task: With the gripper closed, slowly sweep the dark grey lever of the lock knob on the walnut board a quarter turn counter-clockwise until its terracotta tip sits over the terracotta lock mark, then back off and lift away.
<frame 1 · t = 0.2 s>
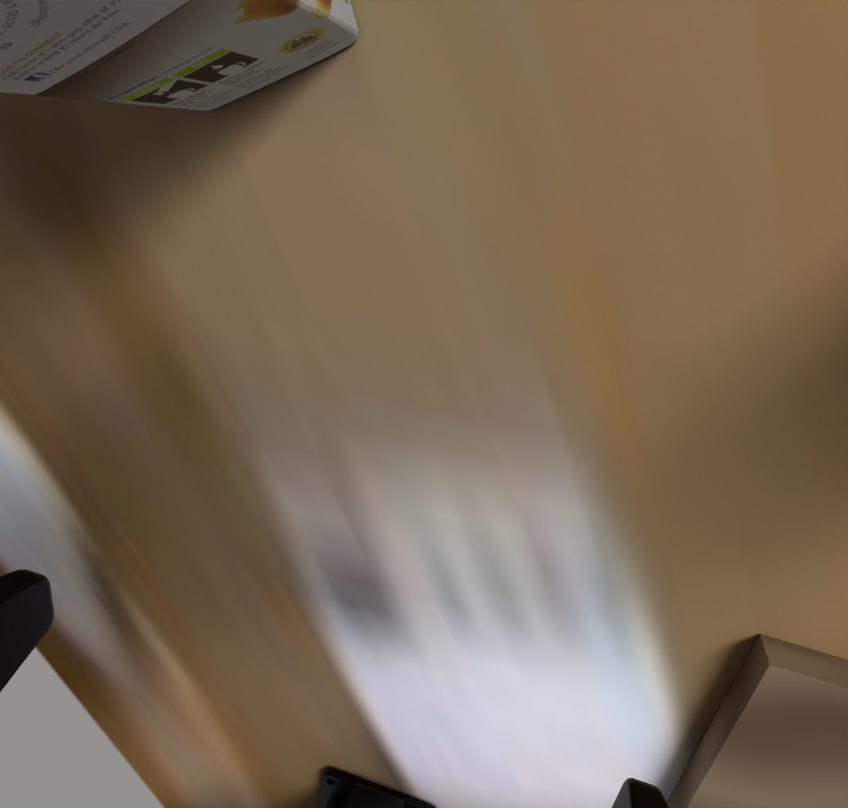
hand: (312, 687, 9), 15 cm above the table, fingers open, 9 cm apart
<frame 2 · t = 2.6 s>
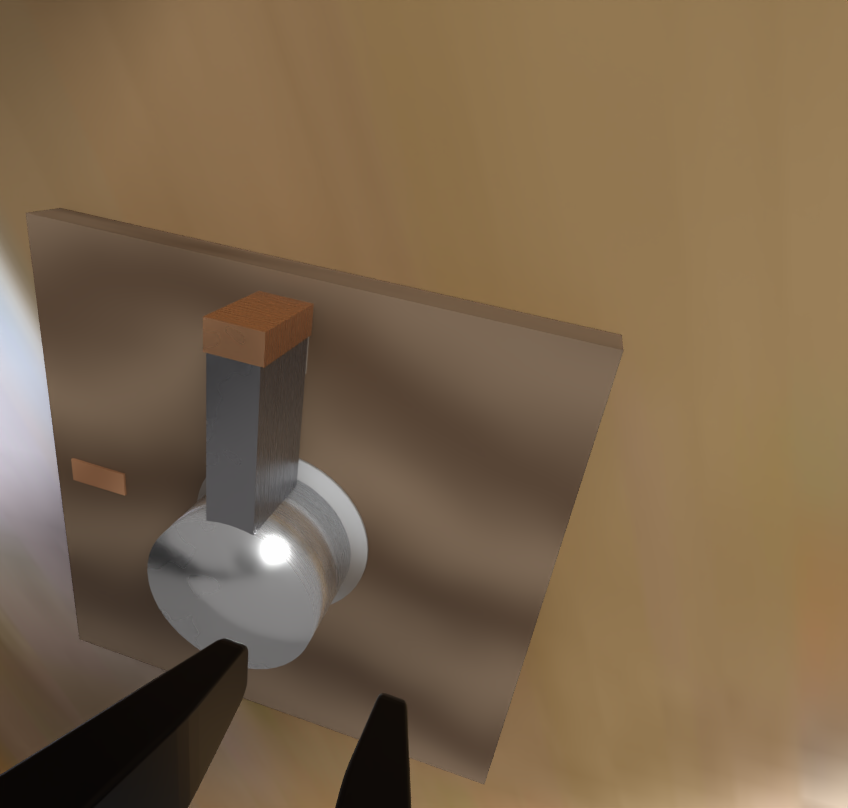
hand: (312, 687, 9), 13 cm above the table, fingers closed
lock knob: (256, 490, 20), point 4 cm above the table, hinge at 0.0°
lock board: (298, 510, 25), on the table
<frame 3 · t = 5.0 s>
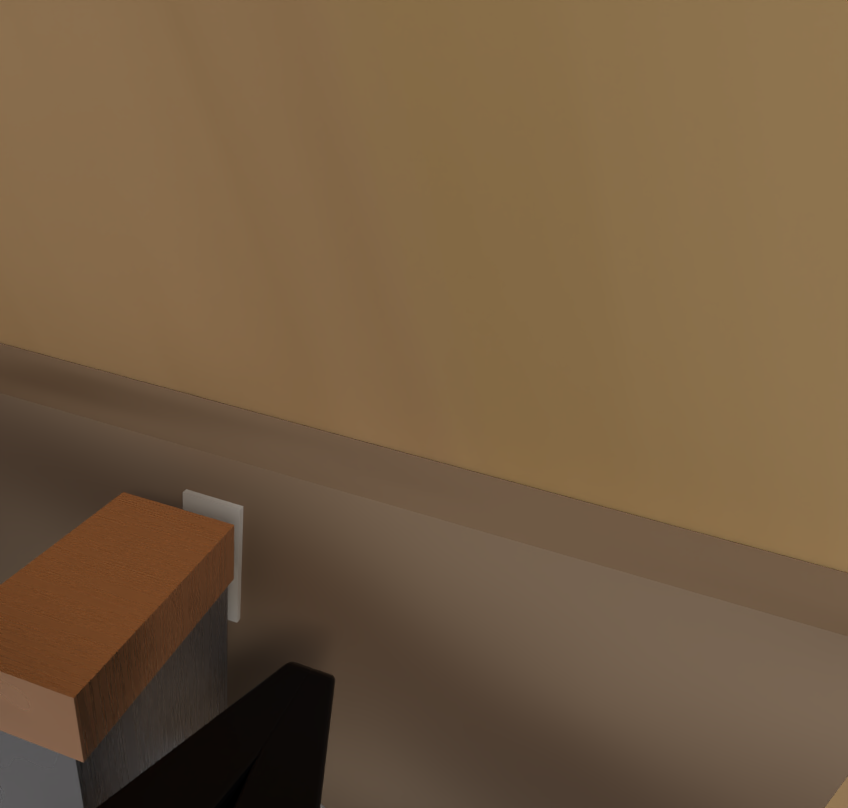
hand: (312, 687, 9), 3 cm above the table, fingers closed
lock board: (247, 772, 15), on the table
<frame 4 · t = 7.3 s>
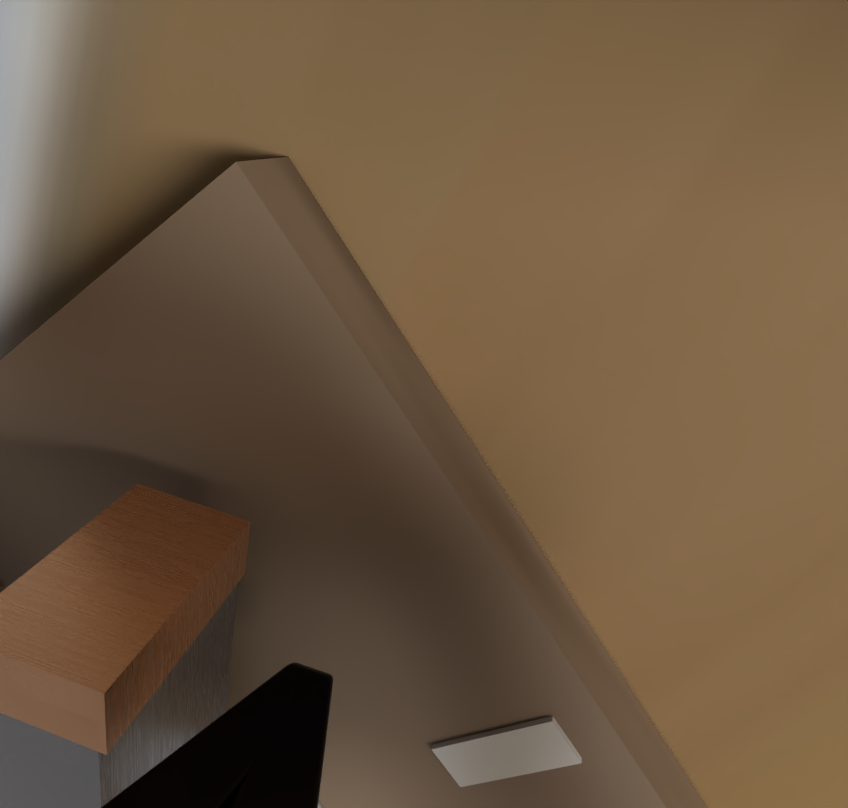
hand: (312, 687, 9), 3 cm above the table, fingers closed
lock board: (231, 757, 15), on the table
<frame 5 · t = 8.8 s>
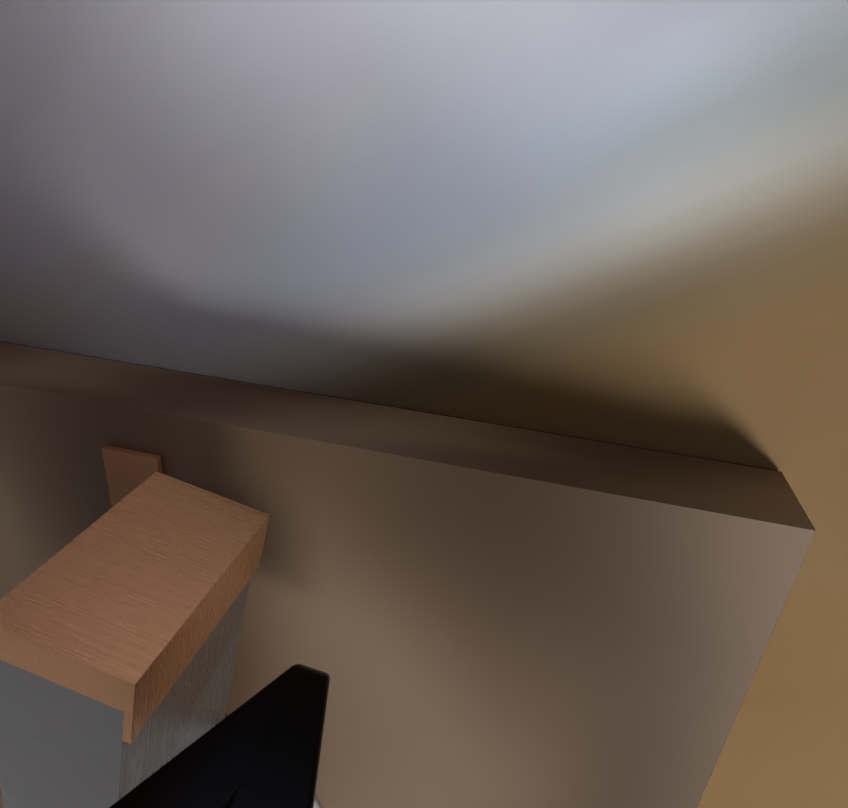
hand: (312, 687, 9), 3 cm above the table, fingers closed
lock board: (221, 741, 15), on the table
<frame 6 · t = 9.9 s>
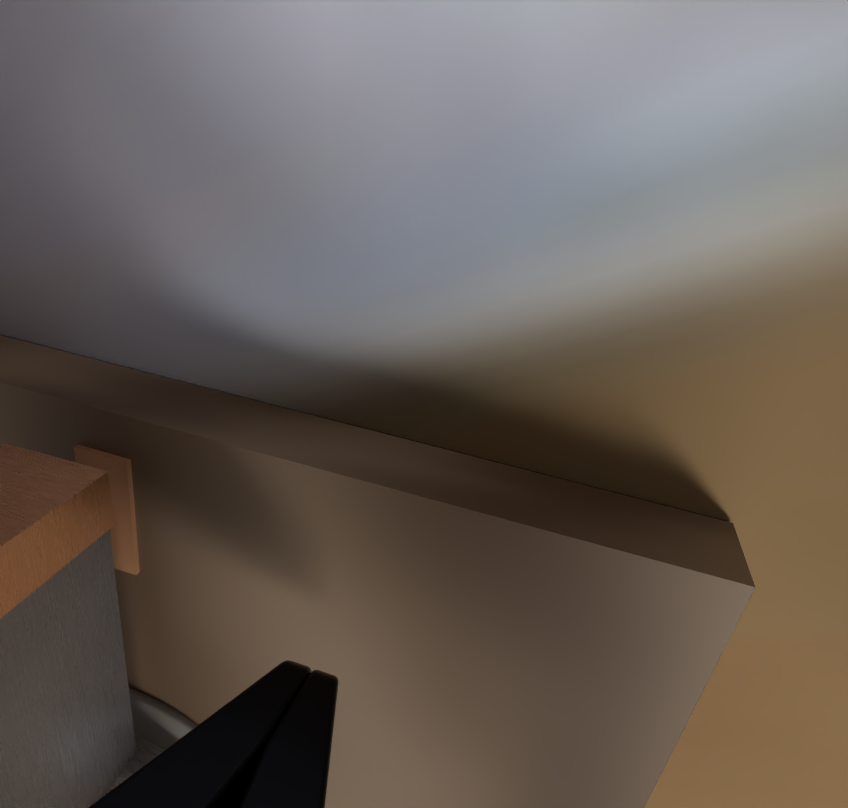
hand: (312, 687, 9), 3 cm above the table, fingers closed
lock knob: (44, 794, 11), point 4 cm above the table, hinge at 90.9°
lock board: (177, 734, 15), on the table
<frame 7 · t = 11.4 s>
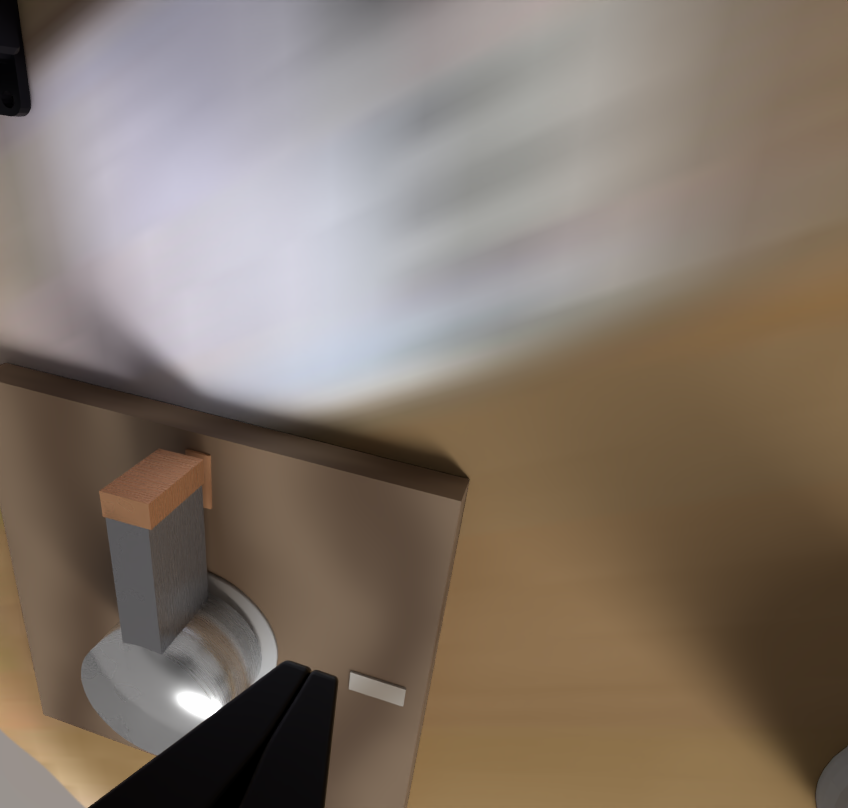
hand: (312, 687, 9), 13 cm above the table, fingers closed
lock knob: (169, 610, 23), point 4 cm above the table, hinge at 91.2°
lock board: (223, 608, 28), on the table
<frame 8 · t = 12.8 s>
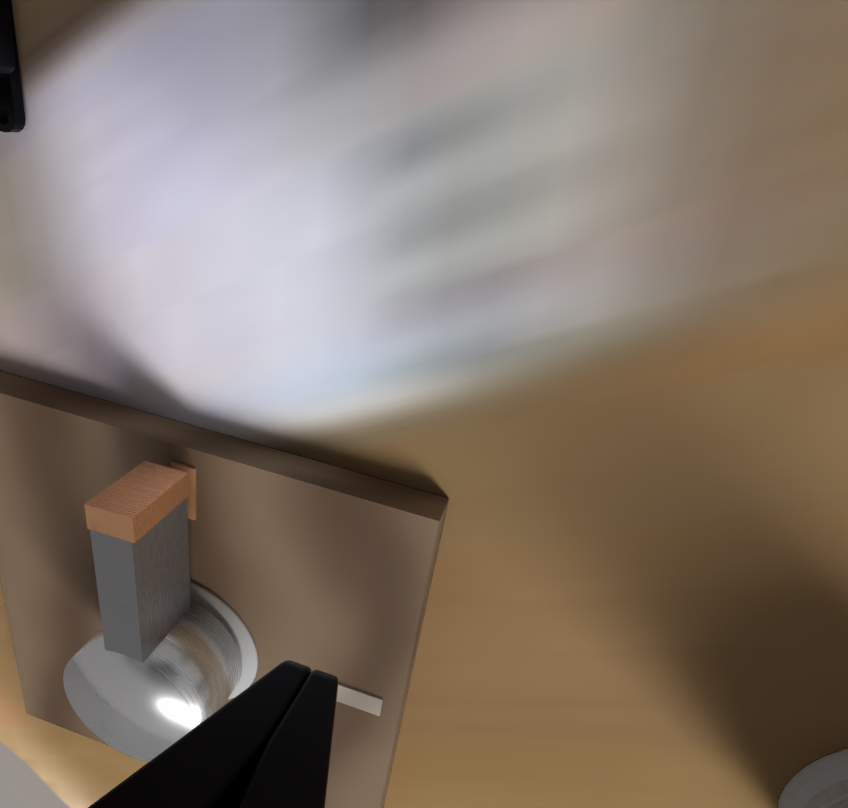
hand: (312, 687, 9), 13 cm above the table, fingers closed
lock knob: (152, 618, 24), point 4 cm above the table, hinge at 91.2°
lock board: (206, 615, 29), on the table
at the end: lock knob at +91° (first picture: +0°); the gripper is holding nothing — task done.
